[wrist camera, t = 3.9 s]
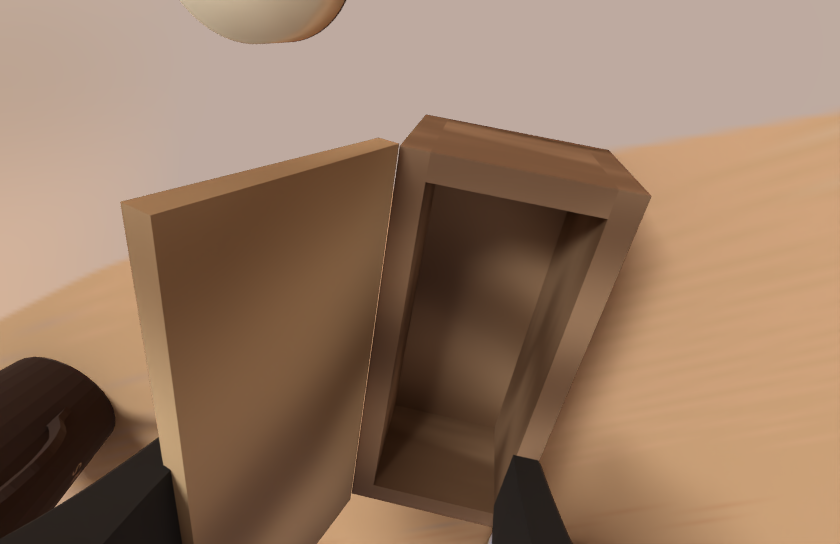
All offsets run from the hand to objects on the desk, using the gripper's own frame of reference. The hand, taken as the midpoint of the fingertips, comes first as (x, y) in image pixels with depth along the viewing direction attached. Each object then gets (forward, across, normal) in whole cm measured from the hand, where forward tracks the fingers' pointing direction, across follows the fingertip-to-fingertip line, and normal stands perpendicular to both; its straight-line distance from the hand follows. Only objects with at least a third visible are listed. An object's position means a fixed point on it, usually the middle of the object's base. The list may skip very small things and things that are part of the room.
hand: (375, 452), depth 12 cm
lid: (0, +2, 0) cm, 2 cm away
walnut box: (+9, -2, 0) cm, 9 cm away
